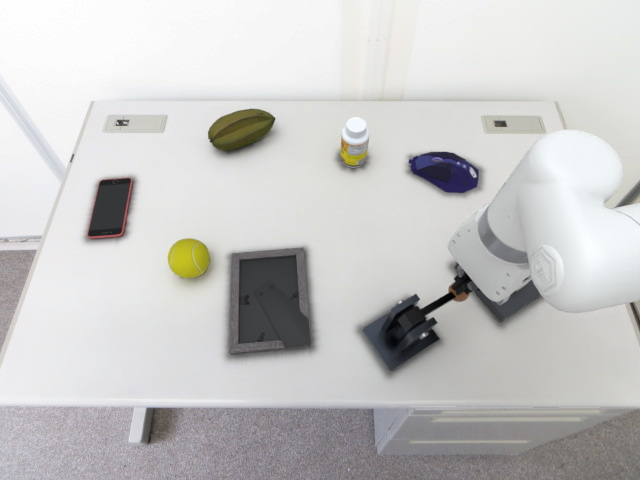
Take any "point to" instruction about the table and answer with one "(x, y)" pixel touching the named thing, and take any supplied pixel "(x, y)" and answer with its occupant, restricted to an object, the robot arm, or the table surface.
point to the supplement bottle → (354, 142)
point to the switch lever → (428, 309)
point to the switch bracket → (400, 335)
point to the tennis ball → (188, 258)
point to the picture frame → (268, 301)
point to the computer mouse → (446, 171)
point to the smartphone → (110, 208)
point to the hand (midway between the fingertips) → (461, 286)
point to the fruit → (240, 129)
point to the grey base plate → (510, 300)
